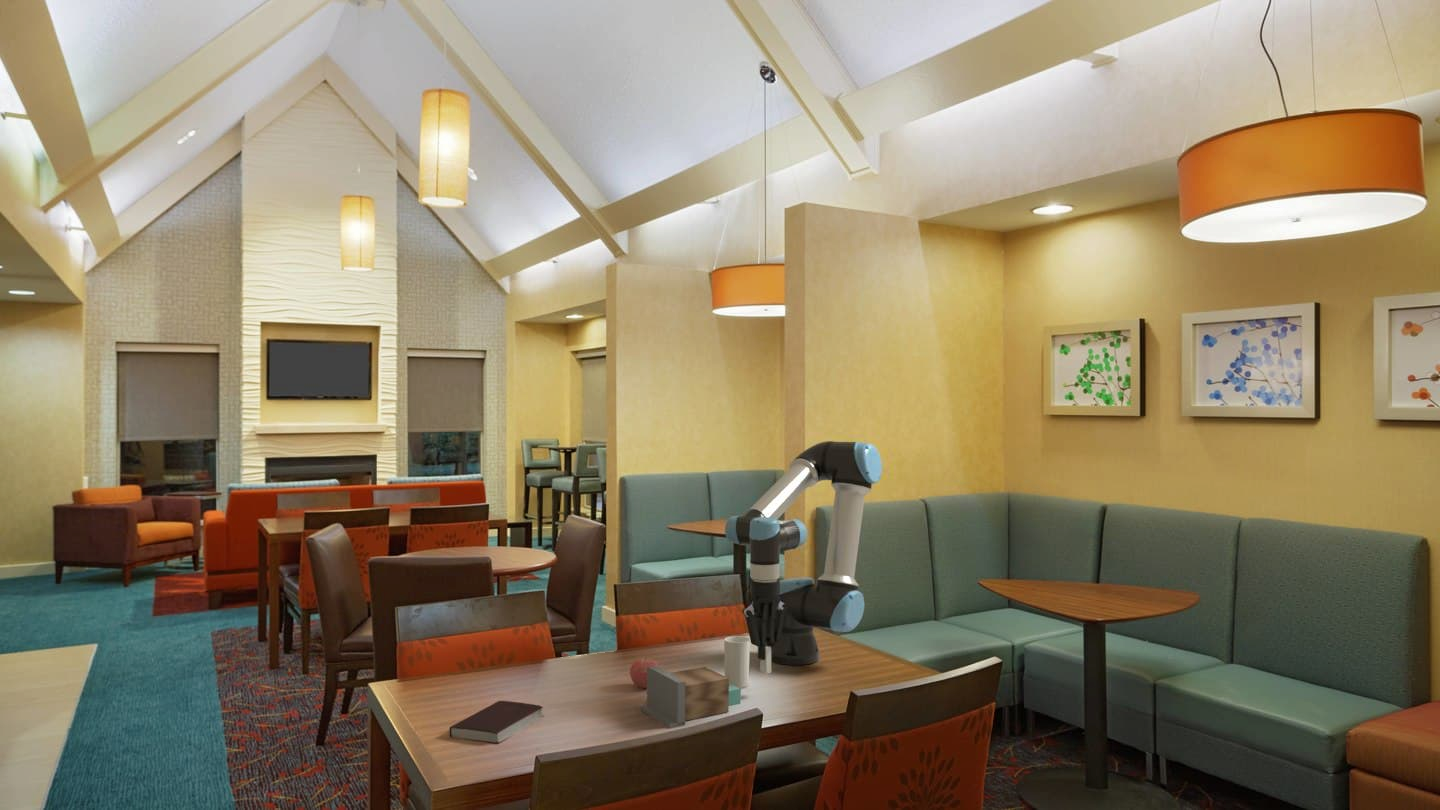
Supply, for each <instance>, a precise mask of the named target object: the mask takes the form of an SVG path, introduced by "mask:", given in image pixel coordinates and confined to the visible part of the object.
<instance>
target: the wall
mask: <svg viewBox="0 0 1440 810" xmlns="http://www.w3.org/2000/svg"><path fill="white" fill-rule="evenodd" d="M670 673H671V672H668V671H667V670H665V669H662V668H661V667H659V666H658V667H657V666H655V665H654V666H648V667H647V688H646V704H643V705H641V704H640V705H639V710H640V711H642V712H643V713H644V714H646V715H648V716H649V717H651V718H653V719H654V720H656V721H658V722H659V723H661V724H662V725H664V726H665V727H667V728H669V729H671V728H672V729H673V728H677V727H682V726H683V727H684V726H686V721H685V686H686V681H684V680H682V679H680V678H678V677H676V676H674V675H672V674H670Z"/></svg>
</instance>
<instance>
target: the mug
mask: <svg viewBox="0 0 1440 810" xmlns="http://www.w3.org/2000/svg"><path fill="white" fill-rule="evenodd" d="M723 644H724V657H723V658H724V676H725V677H727V678H729V685H734V686H736V687H738V688H740V689H744V688H747V687H749V680H750V679H749V676H750V649H751V647H750V646H751V640H750V637H749V638H748V637H745V636H741V635H739V636H736V635H735V636H728V637H725V638H724V642H723Z"/></svg>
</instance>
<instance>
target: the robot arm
mask: <svg viewBox="0 0 1440 810" xmlns="http://www.w3.org/2000/svg"><path fill="white" fill-rule="evenodd" d="M882 463H883V462H882V458H881V455H880V453H879V451H878V449H877V447H876V446H874V445H873V444H872V443H868V442H860V441H832V440H826V441H823V442H822V441H821V442H819V443H816V444H814V445H812V446H810V447H808V448H807V449H804V451H802V452H801V453H800V454H798V455H797V456H796V457H794V459H793V460H792V461H791V462H790V464H789V466H788V467H789V469H788V470H786V472H785V473H784V474H783V475H782V476H781V477H780V478H779V479H778V480H777V481H775V483H774V484H773V485H772V486H770V488H769V489H768V490H767V491H766V492H764V494H763V495H762V496H761V497H760V498H759V499H758V500H757V501H755V503H754V504H753V505H752V506H751V507H750V508H749V509H748V510H747V512H745V513H744V514H742V515H736V516H735V515H732V516H730V517H729V518H728V519H727V520H726V522H725V527H724V534H725V537H726V539H727V540H728V542H729V543H733V544H737V545H740V546H749V556H750V559H749V561H750V562H749V571H750V572H749V573H750V574H749V575H750V578H751V579H750V581H749V582H750V585H749V586H750V587H749V591H750V592H749V593H750V596H751V599H750V601H749V604H750V605H749V606H748V607H747V608H742V609H741V610H742V611H741V613H742V614H743V616H744V617H745V622H746V625H747V631H748V635H749V639H750V645H751V644H752V645H754V646H756V647H757V658H758V659H759V660H760V663H759V664H760V666H759V667H760V668H759V669H760V672H762V673H764V674H771V673H772V662H773V663H777V664H782V665H788V666H803V665H805V666H806V665H809V664H810V665H811V664H814V663H817V662H818V661H819V660H820V649H819V646H818V643H817V640H816V636H815V633H814V627H815V628H819V629H825V630H830V631H834V632H844V633H848V632H851V631H853V630H854V629H856V628H857V626H858V625H859V624H860V622H861V620H862V618H863V614H864V611H865V601H864V599H865V598H864V594H863V593H862V592H860V591H859V586H860V585H859V583H857V581H856V579H855V573H856V565H857V559H858V550H859V544H860V543H859V542H860V536H861V528H862V521H863V513H864V504H865V497H866V496H867V495H868V494H869V493H870V492H871V491H872V485H874V484H877V483H878V482H879V481H880V478H881V476H882V474H883V473H882V472H883V471H882V470H883V464H882ZM821 481H830V486H831V487H832V489H833V490H834V492H835V493H834V498H833V499H834V501H833V507H832V514H831V520H830V521H831V523H830V528H829V535H828V543H827V551H826V555H825V556H826V559H825V565H824V572H823V574H822V575H821V576H819V577H818V579H817V583H816V584H817V585H816V584H815V580H814V578H812V577H793V578H785V579H781V580H779V579H780V577H781V573H780V572H781V571H780V568H781V567H780V565H781V564H780V553H782V552H786V551H790V550H795V549H797V548H799V547H802V546H803V545H804V544H805V543H806V541H807V540H808V539H807V538H808V529H807V527H806V525H805V524H804V523H803V522H802V521H801V520H799V519H789V518H788V519H787V520H779V519H780V517H781V516H782V515H783V514H784V513H785V512H786V511H787V510H788V509H789V508H790V507H791V506H792V505H793V503H795V501H796V500H798V499H799V498H800V496H801V495H802V494H803V493H804V492H805V491H806V490H807V488H811V487H814V486H815V485H817V483H818V482H821Z"/></svg>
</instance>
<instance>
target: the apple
mask: <svg viewBox="0 0 1440 810" xmlns="http://www.w3.org/2000/svg"><path fill="white" fill-rule="evenodd" d="M654 665H655V666H657V667H659V665H658V663H657V662H656V661H655V660H654V659H652V658H651V659H650V658H647V657H645V658H640V659H639V658H638V659H637V660H635V661H634V662H633V663H632V664H631V666H630V668H629V669H630V670H629V676H630V679H631V680H632V683H633V684H634V685H635V686H636V687H638V688H640V689H647V667H648V666H654Z"/></svg>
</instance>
